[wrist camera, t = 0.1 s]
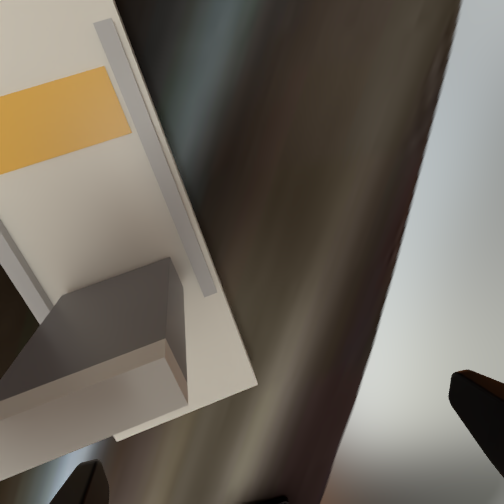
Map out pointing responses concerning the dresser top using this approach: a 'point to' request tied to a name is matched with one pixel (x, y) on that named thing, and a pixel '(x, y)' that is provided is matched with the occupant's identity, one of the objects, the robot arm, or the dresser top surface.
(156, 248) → the white slider track base
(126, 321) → the fader tab
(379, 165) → the dresser top surface
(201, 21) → the dresser top surface
